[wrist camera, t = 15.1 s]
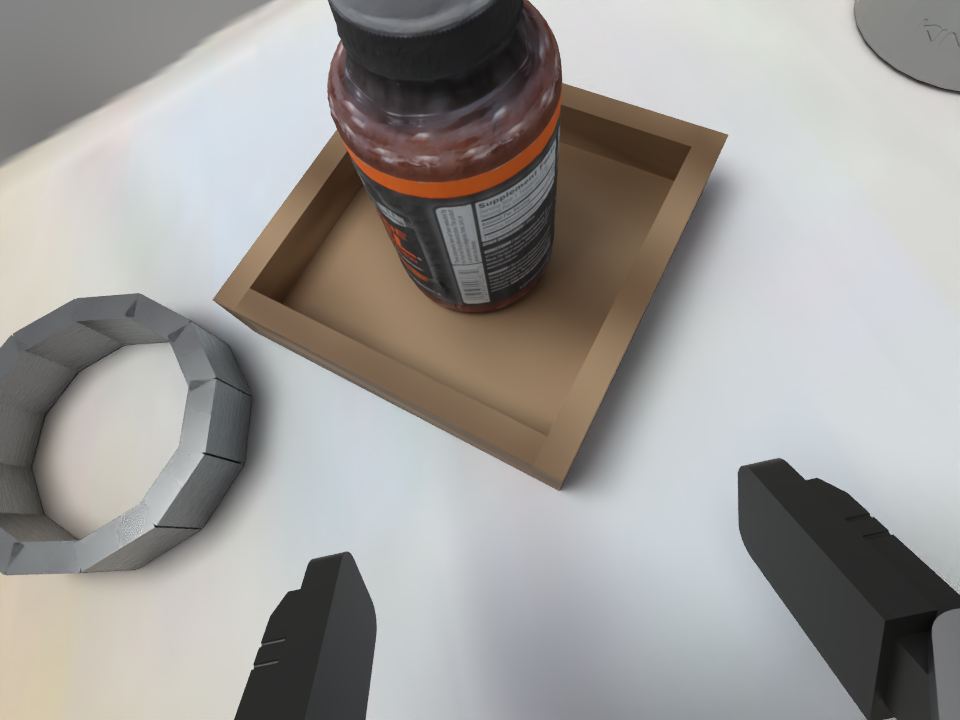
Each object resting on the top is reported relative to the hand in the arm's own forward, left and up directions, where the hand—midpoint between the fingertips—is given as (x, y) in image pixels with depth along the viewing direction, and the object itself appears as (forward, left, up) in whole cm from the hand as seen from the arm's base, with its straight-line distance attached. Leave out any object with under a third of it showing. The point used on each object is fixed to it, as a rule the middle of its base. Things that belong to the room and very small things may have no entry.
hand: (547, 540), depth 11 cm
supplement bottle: (-9, -7, -7) cm, 13 cm away
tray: (-9, -7, -8) cm, 14 cm away
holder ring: (+4, -16, -8) cm, 19 cm away
